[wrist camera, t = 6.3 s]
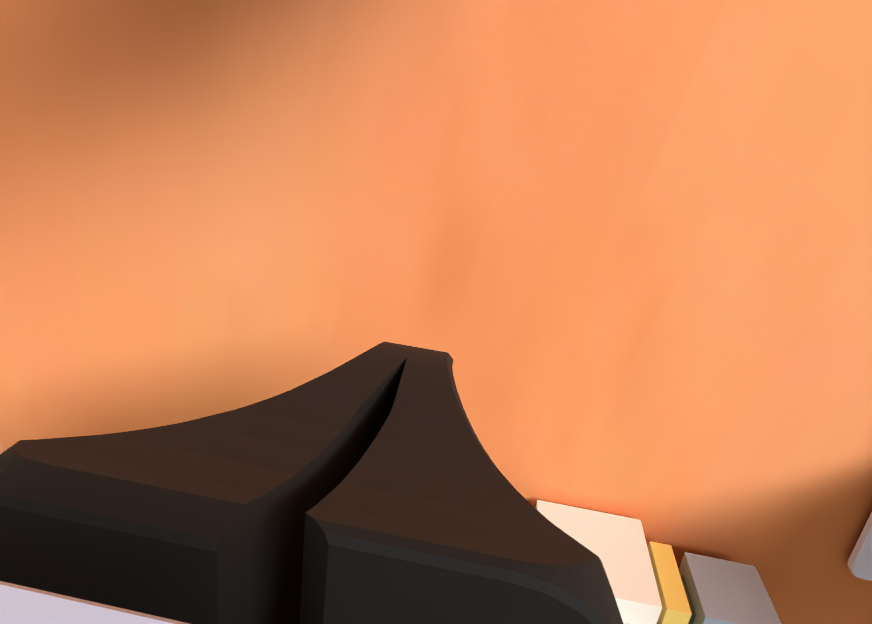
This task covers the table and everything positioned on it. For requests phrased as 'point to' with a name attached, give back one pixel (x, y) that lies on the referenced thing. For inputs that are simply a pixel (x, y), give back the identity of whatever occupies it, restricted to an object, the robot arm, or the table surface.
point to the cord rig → (709, 590)
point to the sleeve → (614, 556)
